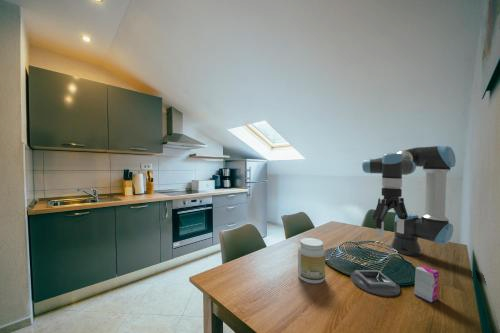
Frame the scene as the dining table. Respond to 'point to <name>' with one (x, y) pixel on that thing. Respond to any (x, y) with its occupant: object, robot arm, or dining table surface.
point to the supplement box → (426, 283)
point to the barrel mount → (375, 283)
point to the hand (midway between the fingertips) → (390, 234)
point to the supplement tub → (311, 260)
